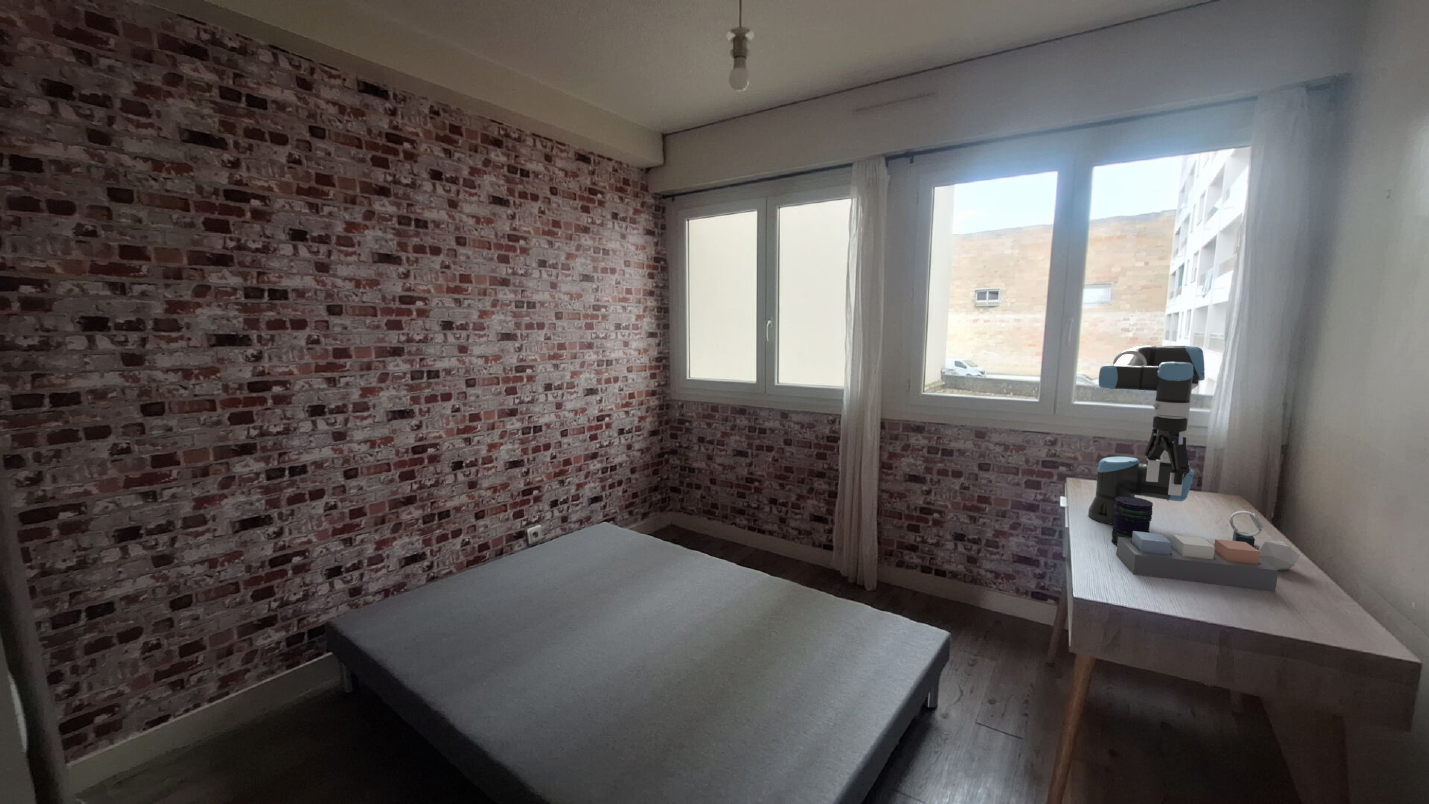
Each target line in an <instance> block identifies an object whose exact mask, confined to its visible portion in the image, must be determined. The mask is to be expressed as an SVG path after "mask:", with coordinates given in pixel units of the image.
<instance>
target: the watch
mask: <svg viewBox="0 0 1429 804" xmlns="http://www.w3.org/2000/svg"><path fill="white" fill-rule="evenodd" d="M1240 514H1246V515H1247V514H1248V515H1249V517H1250V519H1251V521H1252V522H1253V523H1254V525H1255V527H1256V528H1257V530H1256V531H1253V532H1251V533H1249V532H1243V531H1239V530H1238V528H1237V527H1236V526H1235V525H1234V522H1233V520H1234V519H1233V518H1234V517H1235V516H1237V515H1240ZM1228 521H1229V524H1230V526H1231V528H1232V530H1233V534H1232V541H1239V542H1246V543H1248V544H1249V545H1251V546H1252V547H1254V548H1255V541H1256V538H1255V537H1256V536H1257V535H1260V534H1261V533H1262V531H1263V528H1264V526H1263V524H1262V522H1261V521H1260V519H1259V517H1258V515H1257V514H1256V513H1255V512H1251V511H1249V510H1237V511H1235V512H1233V513H1231V515H1230V516H1229V519H1228ZM1254 536H1255V537H1254Z"/></svg>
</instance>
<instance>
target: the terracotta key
mask: <svg viewBox="0 0 1429 804" xmlns="http://www.w3.org/2000/svg"><path fill="white" fill-rule="evenodd" d="M1213 546H1214V547H1215V550H1214V552H1215V553H1216V554H1217V555H1219V556H1220V557H1221V558H1223V559H1224V560H1225V561H1233V562H1242V563H1251V564H1259V557H1260V551H1258V550H1259V549H1257V548H1256V547H1255V546H1254V547H1252V546H1251V545H1249V544H1248V543H1246V542H1239V541H1233V540H1226V539H1219V538H1218V539H1217V538H1215V539H1214V543H1213Z"/></svg>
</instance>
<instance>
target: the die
mask: <svg viewBox="0 0 1429 804" xmlns="http://www.w3.org/2000/svg"><path fill="white" fill-rule="evenodd" d="M1257 550H1258V551H1260V557H1259V558H1261V559H1262V560H1264V561H1265V562H1267V563H1268V564H1270V565H1271V566H1273V567H1274V568H1276V569H1277V570H1278V571H1286V570H1290V569H1292V568H1293V567H1294V566H1295V565H1296V563H1297V562H1298V559H1299V557H1300V556H1301V555H1300V554H1299V553H1297V552H1296V551H1295V550H1294V549H1293V548H1292V547H1290V546H1289V545H1288V544H1287V543H1285V542H1284V541H1282V540H1271V541H1270V540H1268V541H1264V542H1263V543H1262V544H1261V545H1260V546H1259V548H1258V549H1257Z"/></svg>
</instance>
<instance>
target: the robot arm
mask: <svg viewBox="0 0 1429 804" xmlns="http://www.w3.org/2000/svg"><path fill="white" fill-rule="evenodd" d="M1203 351H1204V350H1203V349H1202V348H1201V347H1199V346H1192V345H1142V346H1141V345H1140V346H1135V347H1132V348H1128V349H1125V350H1124V351H1121V352H1120V353H1118V354H1117V355H1116V356H1115V357H1114V359H1113V361H1112V364H1103V365H1101V366H1100V368H1099V373H1098V386H1099V387H1100V388H1101V389H1109V390H1130V391H1131V390H1132V391H1133V390H1134V391H1144V392H1145V391H1146V392H1149V391H1150V392H1155V393H1156V394H1155V395H1156V396H1155V402H1154V404H1152V405H1153V408H1154V409H1153V410H1154V411H1153V414H1154V416H1153V419H1152V429H1151V430H1152V431H1151V436H1150V439H1149V440H1148V442H1147V443H1148V444H1147V446H1146V449H1145V451H1144V456H1145V457H1146V462H1145V463H1140V461H1139V459H1138V458H1136V457H1131V456H1108V457H1104V458H1102V459H1100V460H1099V462H1098V467H1097V470H1096V471H1097V478H1096V488H1095V497H1094V498H1093V500H1092V502H1091V504H1090V506H1089V507H1088V511H1087V516H1088V517H1089V518H1091V519H1093V520H1095V521H1097V522H1101V523H1103V524H1108V525H1109V524H1110V525H1112V526H1113V525H1114V519H1115V515H1114V510H1115V509H1114V506H1115V502H1116V501H1115V500H1116V497H1119V496H1129V497H1136V496H1140V497H1145V498H1146V497H1147V498H1153V499H1160V500H1165V501H1169V502H1170V501H1174V502H1183V501H1186V500H1187V498H1188V495H1189V493H1190V490H1191V486H1192V484H1193V483H1192V482H1193V479H1194V474H1195V470H1194V469H1192V468H1190V463H1189V458H1188V451H1187V438H1188V437H1187V436H1188V427H1189V419H1190V418H1189V417H1190V409H1191V400H1192V394H1193V393H1192V391H1193V390H1194V389H1195V388H1197V387H1198V386H1199V382H1201V381H1205V379H1206V377H1205V374H1206V373H1205V359H1204V352H1203Z"/></svg>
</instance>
